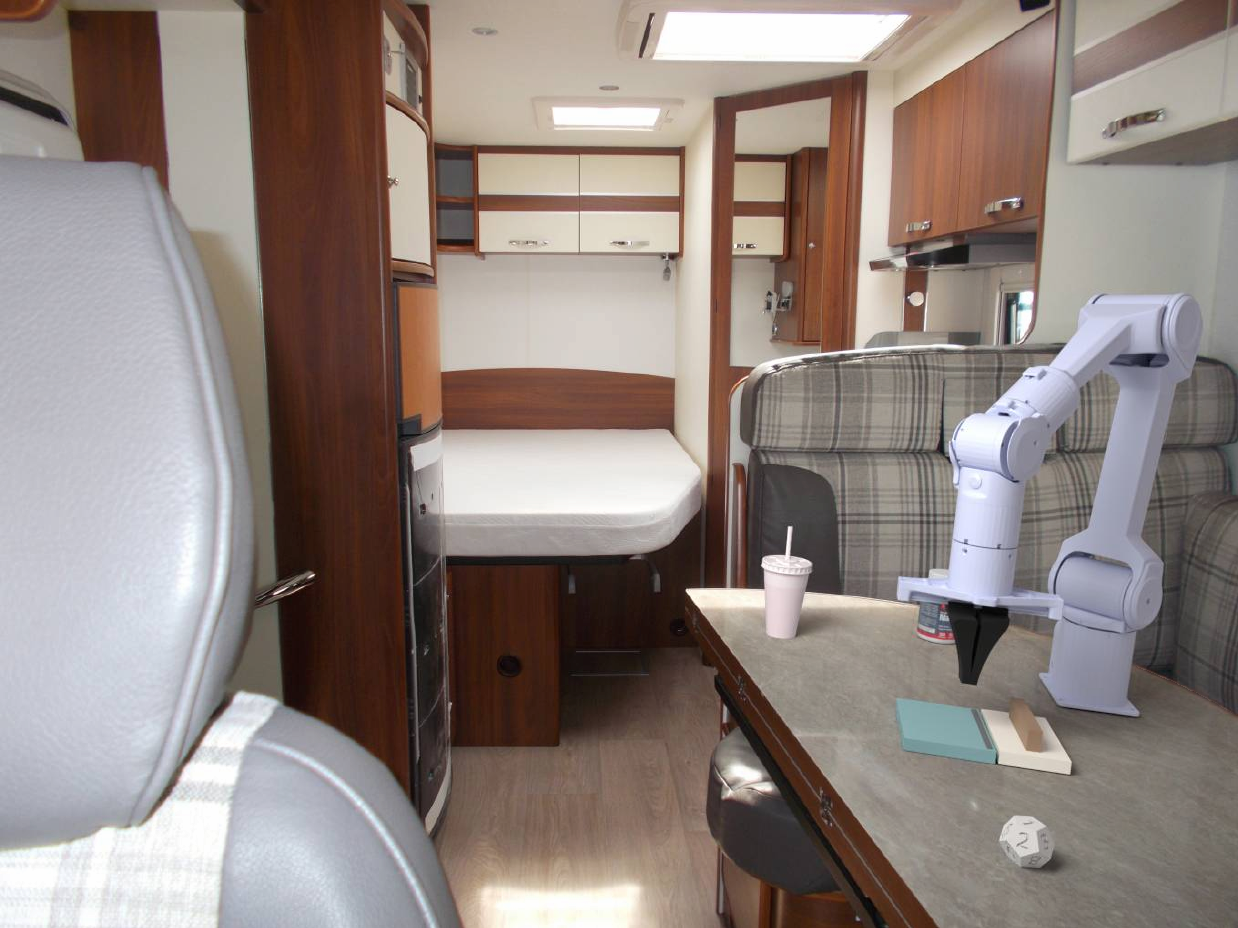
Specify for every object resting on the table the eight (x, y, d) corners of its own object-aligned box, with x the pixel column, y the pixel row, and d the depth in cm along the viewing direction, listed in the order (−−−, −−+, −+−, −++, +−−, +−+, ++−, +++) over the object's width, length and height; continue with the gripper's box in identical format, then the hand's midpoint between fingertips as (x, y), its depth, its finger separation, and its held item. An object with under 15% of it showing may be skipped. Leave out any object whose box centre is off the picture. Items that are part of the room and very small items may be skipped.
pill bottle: (938, 646, 113) (946, 579, 112) (907, 633, 118) (915, 568, 117) (967, 642, 116) (975, 576, 115) (936, 629, 120) (943, 566, 119)
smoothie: (806, 629, 117) (816, 525, 115) (805, 645, 111) (815, 535, 109) (757, 623, 118) (766, 520, 116) (753, 638, 112) (762, 529, 110)
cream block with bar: (980, 719, 90) (983, 689, 90) (1043, 729, 89) (1047, 698, 89) (998, 763, 81) (1002, 730, 80) (1070, 774, 79) (1074, 740, 79)
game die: (986, 850, 67) (991, 812, 66) (1027, 844, 68) (1031, 807, 67) (1021, 877, 63) (1026, 838, 63) (1062, 871, 64) (1068, 832, 64)
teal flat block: (895, 708, 92) (896, 696, 92) (976, 720, 91) (978, 708, 90) (903, 750, 83) (904, 736, 82) (994, 764, 81) (996, 750, 81)
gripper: (907, 542, 81) (892, 684, 83) (1080, 560, 78) (1059, 708, 80) (901, 527, 88) (887, 659, 90) (1059, 544, 85) (1041, 680, 87)
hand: (967, 680), depth 85 cm, fingers closed
